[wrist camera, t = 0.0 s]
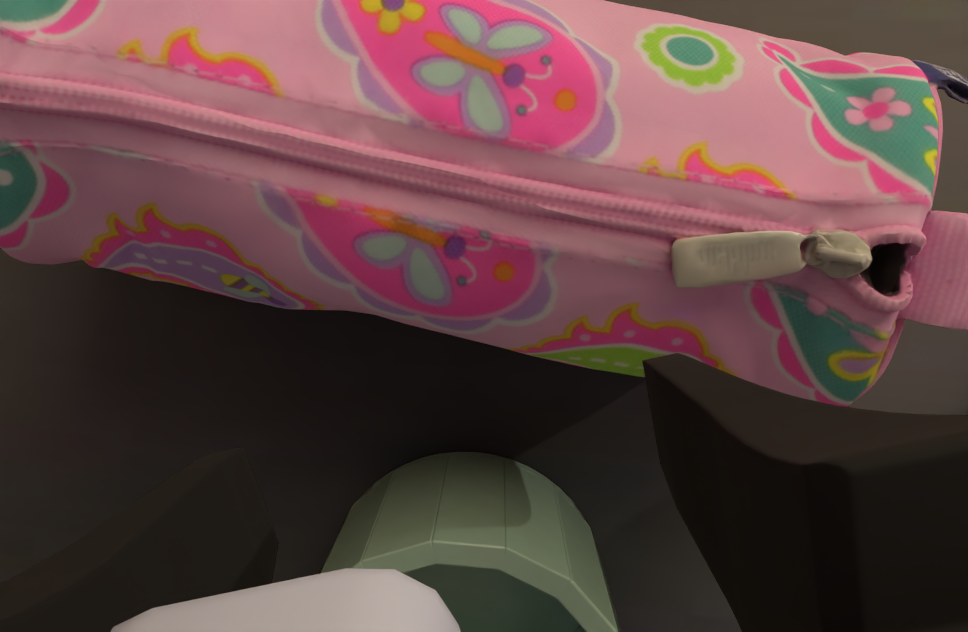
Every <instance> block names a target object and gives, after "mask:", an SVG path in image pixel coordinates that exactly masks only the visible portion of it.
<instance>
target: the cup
mask: <svg viewBox="0 0 968 632" xmlns="http://www.w3.org/2000/svg"><path fill="white" fill-rule="evenodd" d="M345 568H354V569H395V570H397V571H399V572H401V573H403V574H405V575H407V576H409V577H411V578H413V579H415V580H417V581H418V582H420V583H422V584H424V585H426V586H428V587H430V588H432V589H434V590H436V591H437V593H438V594H439V596H440V597H441V599H442V600H443V602H444V603H445V605H446V606H447V608H448V609H449V611H450V612H451V614H452V615H453V617H454V618H455V620H456V622H457V623H458V625H459V628H460V631H461V632H621V630H620V627H619V623H618V619H617V616H616V612H615V608H614V605H613V601H612V597H611V594H610V590H609V586H608V583H607V579H606V576H605V572H604V569H603V566H602V563H601V559H600V556H599V553H598V550H597V546H596V543H595V540H594V537H593V534H592V531H591V528H590V527H589V525H588V523H587V522H586V521H585V519H584V517H583V515H582V513H581V512H580V511H579V509H578V508H577V507H576V505H575V504H574V503H573V502H572V500H571V499H570V498H569V497H568V496H567V495H566V494H565V493H564V492H563V491H562V490H561V489H560V488H559V487H558V486H557V485H555V484H554V483H553V482H552V481H550V480H549V479H548V478H546V477H545V476H544V475H542V474H540V473H539V472H537V471H535V470H533V469H532V468H530V467H528V466H526V465H523V464H521V463H519V462H516V461H514V460H511V459H508V458H504V457H501V456H497V455H493V454H486V453H480V452H450V453H440V454H436V455H431V456H427V457H423V458H420V459H417V460H415V461H412V462H409V463H407V464H404V465H403V466H401V467H399V468H397V469H395V470H393V471H391V472H389V473H388V474H387V475H385V476H384V477H382V478H381V479H380V480H378V481H377V482H375V483H374V484H373V485H372V486H371V487H370V488H369V489H368V490H367V491H366V492H365V493H364V494H363V495H362V496H361V497H360V498H359V500H358V501H357V502H356V503H354V505H353V506H352V507H351V509H350V511H349V513H348V515H347V517H346V518H345V520H344V522H343V524H342V526H341V528H340V530H339V532H338V534H337V536H336V538H335V540H334V542H333V544H332V546H331V548H330V549H329V552H328V554H327V556H326V558H325V560H324V562H323V564H322V566H321V568H320V571H319V573H318V574H321V573H326V572H331V571H336V570H341V569H345Z"/></svg>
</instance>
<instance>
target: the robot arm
mask: <svg viewBox="0 0 968 632" xmlns="http://www.w3.org/2000/svg"><path fill="white" fill-rule="evenodd" d="M642 362H643V368H644V374H645V379H646V385H647V391H648V396H649V402H650V408H651V414H652V419H653V425H654V431H655V436H656V442H657V448H658V454H659V459H660V464H661V467H662V470H663V472H664V475H665V478H666V481H667V483H668V486H669V489H670V491H671V494H672V497H673V499H674V502H675V504H676V507H677V509H678V511H679V513H680V515H681V517H682V519H683V520H684V522H685V524H686V526H687V528H688V530H689V532H690V533H691V535H692V537H693V539H694V541H695V543H696V544H697V546H698V548H699V550H700V552H701V554H702V555H703V557H704V559H705V561H706V563H707V564H708V566H709V568H710V570H711V572H712V574H713V575H714V577H715V579H716V581H717V583H718V584H719V586H720V588H721V590H722V592H723V594H724V595H725V597H726V599H727V601H728V603H729V605H730V607H731V609H732V611H733V613H734V615H735V617H736V619H737V621H738V623H739V625H740V628H741V630H742V632H968V415H925V414H905V413H890V412H882V411H873V410H864V409H856V408H849V407H843V406H837V405H832V404H827V403H823V402H818V401H813V400H809V399H804V398H800V397H796V396H793V395H789V394H785V393H782V392H779V391H776V390H773V389H770V388H767V387H763V386H760V385H758V384H755V383H752V382H749V381H747V380H744V379H741V378H739V377H736V376H734V375H731V374H729V373H726V372H724V371H722V370H719V369H717V368H714V367H712V366H710V365H707V364H705V363H703V362H700V361H698V360H696V359H693V358H691V357H688V356H686V355H683V354H680V353H674V354H670V355H665V356H661V357H656V358H651V359H647V360H642ZM278 543H279V542H278V540H277V537H276V534H275V531H274V529H273V526H272V523H271V521H270V518H269V515H268V512H267V510H266V507H265V504H264V502H263V499H262V496H261V493H260V491H259V488H258V485H257V482H256V480H255V477H254V474H253V472H252V469H251V466H250V463H249V461H248V458H247V455H246V453H245V450H244V447H239V448H234V449H230V450H225V451H220V452H216V453H211V454H209V455H207V456H204V457H202V458H200V459H199V460H197V461H195V462H193V463H192V464H190V465H188V466H187V467H185V468H184V469H182V470H181V471H179V472H178V473H176V474H175V475H173V476H172V477H170V478H169V479H167V480H166V481H164V482H163V483H162V484H160V485H159V486H157V487H156V488H154V489H153V490H152V491H150V492H149V493H147V494H146V495H144V496H143V497H142V498H140V499H139V500H137V501H136V502H134V503H133V504H132V505H130V506H129V507H127V508H126V509H124V510H123V511H121V512H120V513H118V514H117V515H115V516H114V517H112V518H111V519H109V520H108V521H106V522H105V523H103V524H102V525H100V526H99V527H97V528H96V529H94V530H93V531H91V532H89V533H88V534H86V535H85V536H83V537H82V538H80V539H79V540H77V541H76V542H74V543H72V544H71V545H69V546H68V547H66V548H64V549H63V550H61V551H59V552H57V553H56V554H54V555H52V556H51V557H49V558H47V559H45V560H44V561H42V562H40V563H38V564H36V565H35V566H33V567H31V568H29V569H27V570H25V571H24V572H22V573H20V574H18V575H16V576H14V577H12V578H10V579H9V580H7V581H4V582H2V583H0V632H461V631H460V628H459V625H458V623H457V622H456V620H455V618H454V617H453V615H452V614H451V612H450V611H449V609H448V608H447V606H446V605H445V603H444V602H443V600H442V599H441V597H440V596H439V594H438V593H437V591H436V590H434V589H432V588H430V587H428V586H426V585H424V584H422V583H420V582H418V581H417V580H415V579H413V578H411V577H409V576H407V575H405V574H403V573H401V572H399V571H397V570H395V569H354V568H345V569H341V570H336V571H331V572H326V573H321V574H316V575H311V576H306V577H302V578H297V579H292V580H287V581H282V582H277V583H272V584H271V582H272V578H273V573H274V568H275V561H276V555H277V549H278Z"/></svg>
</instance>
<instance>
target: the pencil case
mask: <svg viewBox="0 0 968 632" xmlns="http://www.w3.org/2000/svg"><path fill="white" fill-rule="evenodd" d="M938 89H943V90H944V91H945V92H946V93H947V95H948V96H949V97H951V98H953V99H955V100H957V101H959V102H962V103H966V104H968V79H967V78H965V77H964V76H962V75H960V74H958V73H957V72H955V71H953V70H951V69H948V68H944V67H941V66H938V65H935V64H931V63H928V62H925V61H921V60H909V59H906V58H903V57H898V56H889V55H882V54H875V53H862V52H858V53H854V54H850V55H846V56H844V55H841V54H839V53H836V52H834V51H831V50H829V49H826V48H823V47H819V46H816V45H813V44H809V43H805V42H799V41H794V40H788V39H781V38H775V37H771V36H768V35H764V34H760V33H757V32H753V31H749V30H745V29H740V28H736V27H732V26H727V25H722V24H717V23H711V22H706V21H702V20H698V19H694V18H690V17H686V16H682V15H677V14H672V13H666V12H661V11H655V10H649V9H644V8H638V7H633V6H627V5H622V4H617V3H613V2H608V1H604V0H0V248H2V249H3V250H4V251H5V252H6V253H7V254H8V255H10V256H11V257H14V258H16V259H18V260H20V261H23V262H26V263H31V264H60V263H67V262H74V261H81V260H84V261H85V262H86V263H87V264H88V265H89V266H91V267H93V268H107V269H111V270H115V271H119V272H123V273H126V274H130V275H133V276H137V277H140V278H144V279H148V280H151V281H164V282H169V283H174V284H179V285H183V286H187V287H191V288H195V289H199V290H203V291H207V292H212V293H216V294H220V295H225V296H229V297H232V298H236V299H240V300H244V301H248V302H256V303H262V304H266V305H270V306H274V307H278V308H284V309H298V310H346V311H353V312H360V313H367V314H374V315H377V316H381V317H384V318H387V319H391V320H394V321H398V322H401V323H404V324H408V325H412V326H416V327H420V328H424V329H428V330H433V331H437V332H441V333H445V334H449V335H453V336H457V337H461V338H465V339H469V340H473V341H477V342H481V343H485V344H489V345H493V346H497V347H501V348H505V349H508V350H512V351H516V352H519V353H523V354H527V355H530V356H535V357H539V358H544V359H548V360H552V361H557V362H561V363H566V364H570V365H575V366H580V367H585V368H590V369H596V370H603V371H609V372H615V373H621V374H627V375H632V376H638V377H645V374H644V368H643V362H642V360H647V359H651V358H656V357H661V356H665V355H670V354H674V353H680V354H683V355H686V356H688V357H691V358H693V359H696V360H698V361H700V362H703V363H705V364H707V365H710V366H712V367H714V368H717V369H719V370H722V371H724V372H726V373H729V374H731V375H734V376H736V377H739V378H741V379H744V380H747V381H749V382H752V383H755V384H758V385H760V386H763V387H767V388H770V389H773V390H776V391H779V392H782V393H785V394H789V395H793V396H796V397H800V398H804V399H809V400H813V401H818V402H823V403H827V404H832V405H837V406H843V407H847V406H849V405H850V404H851V403H852V402H853V401H854V400H856V399H857V398H859V397H860V396H862V395H864V394H865V393H866V392H867V391H868V390H869V389H870V388H871V387H872V386H873V385H874V384H875V383H876V381H877V380H878V379H879V378H880V376H881V375H882V374H883V372H884V371H885V369H886V367H887V365H888V363H889V362H890V360H891V357H892V355H893V352H894V350H895V347H896V345H897V342H898V340H899V337H900V335H901V332H902V329H903V325H904V320H905V319H908V320H912V321H916V322H920V323H924V324H929V325H934V326H938V327H944V328H949V329H962V330H968V214H966V213H953V212H946V211H931V208H932V203H933V198H934V194H935V189H936V184H937V179H938V173H939V164H940V155H941V146H942V135H943V121H942V109H941V102H940V99H939V96H938V93H937V90H938Z"/></svg>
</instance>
